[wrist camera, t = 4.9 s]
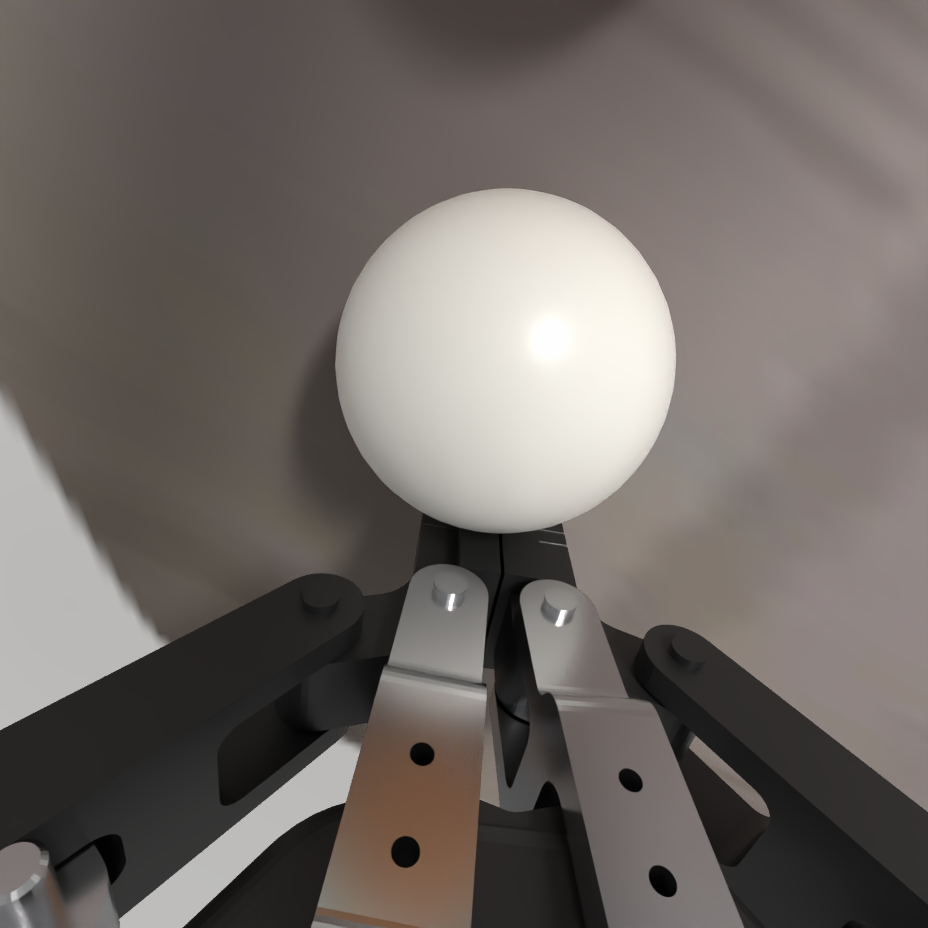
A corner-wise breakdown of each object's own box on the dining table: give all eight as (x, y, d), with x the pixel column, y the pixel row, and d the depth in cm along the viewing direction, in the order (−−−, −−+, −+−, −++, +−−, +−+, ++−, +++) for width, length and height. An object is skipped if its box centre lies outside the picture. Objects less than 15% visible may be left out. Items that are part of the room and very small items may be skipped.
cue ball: (369, 373, 13) (379, 109, 9) (597, 413, 14) (699, 172, 10) (301, 569, 9) (268, 260, 6) (620, 621, 10) (807, 359, 6)
